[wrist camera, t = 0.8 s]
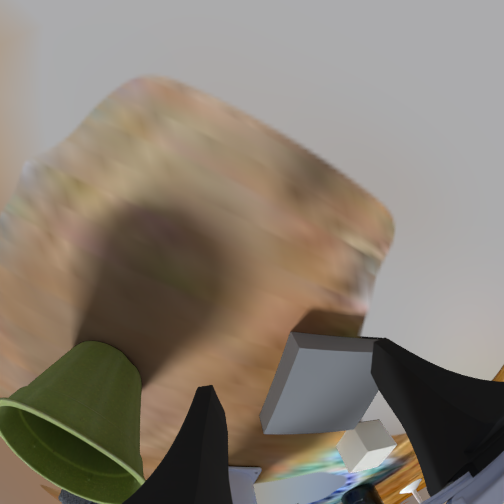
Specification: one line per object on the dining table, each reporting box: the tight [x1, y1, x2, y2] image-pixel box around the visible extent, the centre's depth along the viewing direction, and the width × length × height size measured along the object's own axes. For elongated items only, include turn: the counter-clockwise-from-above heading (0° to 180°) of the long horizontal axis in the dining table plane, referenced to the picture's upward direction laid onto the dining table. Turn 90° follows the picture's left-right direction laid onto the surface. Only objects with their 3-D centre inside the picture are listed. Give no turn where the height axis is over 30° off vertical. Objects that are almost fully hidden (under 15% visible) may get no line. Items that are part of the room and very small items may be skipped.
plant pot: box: [0, 341, 146, 504], centre depth 15 cm, size 12×12×11 cm
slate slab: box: [259, 332, 382, 434], centre depth 22 cm, size 10×10×3 cm
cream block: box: [336, 419, 397, 473], centre depth 24 cm, size 4×4×5 cm
